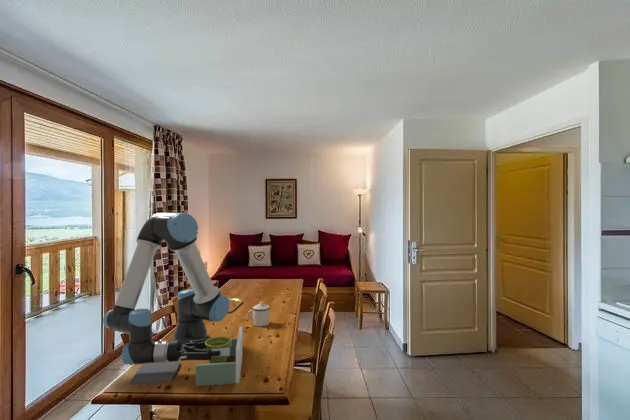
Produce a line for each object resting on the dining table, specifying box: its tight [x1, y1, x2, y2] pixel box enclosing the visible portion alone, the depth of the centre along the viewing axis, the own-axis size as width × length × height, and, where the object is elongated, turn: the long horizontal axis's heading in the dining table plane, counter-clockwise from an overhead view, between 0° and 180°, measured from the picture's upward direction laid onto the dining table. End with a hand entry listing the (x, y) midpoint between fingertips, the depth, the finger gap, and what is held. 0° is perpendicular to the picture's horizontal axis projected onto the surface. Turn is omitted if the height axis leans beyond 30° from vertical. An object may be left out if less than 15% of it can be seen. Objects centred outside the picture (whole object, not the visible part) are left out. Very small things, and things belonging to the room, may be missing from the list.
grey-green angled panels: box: [195, 326, 244, 387], centre depth 135 cm, size 15×24×12 cm, turn 9°
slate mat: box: [129, 361, 182, 385], centre depth 131 cm, size 14×14×1 cm
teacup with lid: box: [247, 301, 271, 327], centre depth 189 cm, size 12×9×12 cm
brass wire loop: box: [227, 297, 243, 314], centre depth 223 cm, size 19×35×2 cm, turn 176°
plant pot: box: [205, 336, 232, 364], centre depth 135 cm, size 9×9×9 cm
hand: (230, 346), depth 136 cm, fingers closed on plant pot, 8 cm apart
